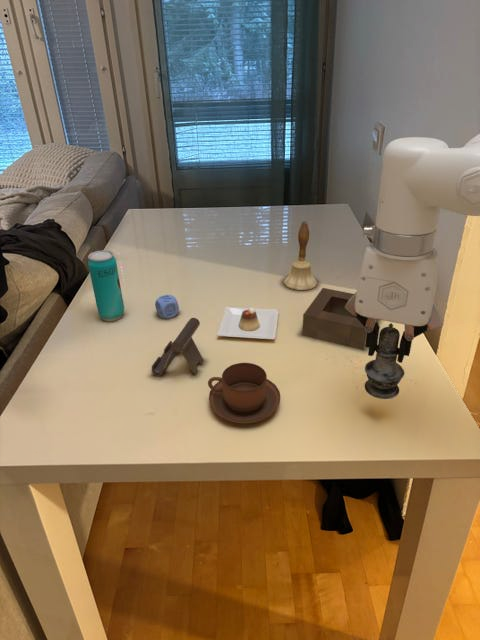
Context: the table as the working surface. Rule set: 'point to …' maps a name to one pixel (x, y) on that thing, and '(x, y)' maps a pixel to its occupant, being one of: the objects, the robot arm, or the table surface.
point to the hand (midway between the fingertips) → (386, 353)
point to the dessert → (249, 323)
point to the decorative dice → (167, 306)
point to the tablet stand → (181, 349)
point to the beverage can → (106, 285)
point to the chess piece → (385, 366)
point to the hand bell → (301, 265)
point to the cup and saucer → (243, 394)
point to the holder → (333, 320)
